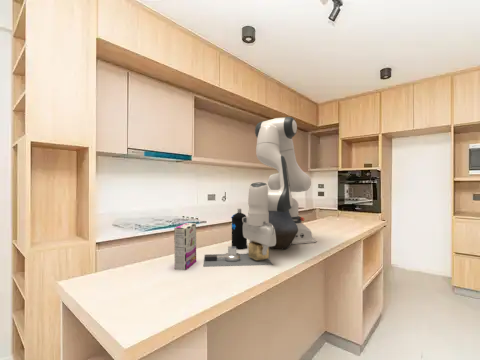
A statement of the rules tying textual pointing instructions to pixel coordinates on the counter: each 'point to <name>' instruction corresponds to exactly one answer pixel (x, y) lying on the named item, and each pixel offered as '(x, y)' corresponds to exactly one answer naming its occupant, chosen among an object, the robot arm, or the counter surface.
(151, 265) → the counter surface
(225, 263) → the mat
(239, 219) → the aerosol can
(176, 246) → the candy bar box
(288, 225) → the pitcher
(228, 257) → the ratchet
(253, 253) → the brass square frame
